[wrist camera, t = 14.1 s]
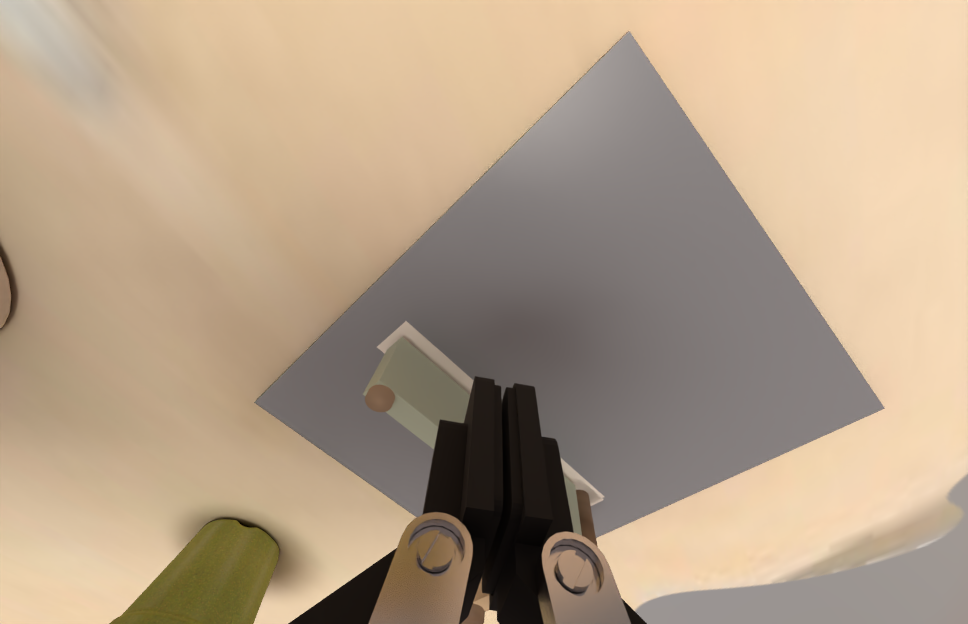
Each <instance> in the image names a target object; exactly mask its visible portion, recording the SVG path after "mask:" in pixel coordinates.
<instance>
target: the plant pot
mask: <svg viewBox="0 0 968 624" xmlns="http://www.w3.org/2000/svg"><path fill="white" fill-rule="evenodd" d="M278 556H279V548H278V546H277V544H276V542H275V541H274V540H273V539H272V538H271V537H270V536H269V535H268V534H267V533H265V532H264V531H262V530H261V529H259V528H257V527H253V528H248V527H244V526H242V525H241V524H239V522H238V521H236V520H229V519H222V520H215V521H212V522H210V523H208V524H206V525H205V526H204V527H203V528H202V529H201V530H200V531H199V533H198V534H197V535H196V536H195V537H194V538H193V539H192V540H191V541H190V542H189V543H188V544H187V546H186V547H185V548H184V549H183V550H182V551H181V552H180V553H179V554H178V555H177V556H176V558H175V559H174V560H173V561H172V562H171V563H170V564H169V565H168V566H167V567H166V568H165V569H164V570H163V571H162V573H161V574H160V575H159V576H158V577H157V578H156V579H155V580H154V581H153V582H152V583H151V584H150V586H149V587H148V588H147V589H146V590H145V591H144V592H143V593H142V594H141V595H140V596H139V597H138V598H137V599H136V601H135V602H134V603H133V604H132V605H131V606H130V607H129V608H128V609H127V610H126V611H125V612H124V613H123V614H122V615H121V616H120V617H118V618H116V619H115V620H113V621H112V622H111V623H110V624H253V623H254V621H255V618H256V615H257V613H258V610H259V607H260V605H261V602H262V599H263V597H264V594H265V592H266V589H267V587H268V584H269V582H270V579H271V577H272V574H273V572H274V569H275V566H276V564H277V561H278Z"/></svg>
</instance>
